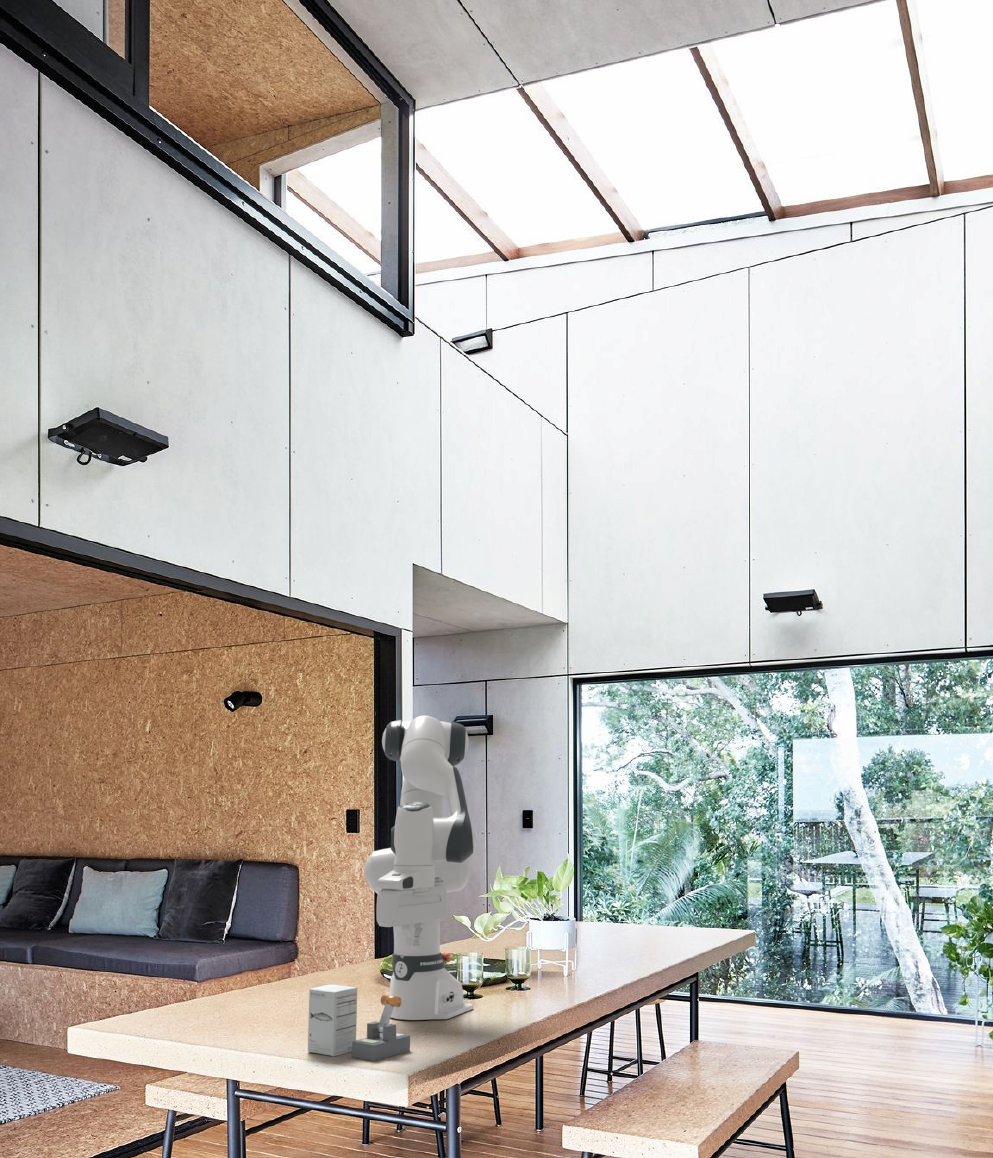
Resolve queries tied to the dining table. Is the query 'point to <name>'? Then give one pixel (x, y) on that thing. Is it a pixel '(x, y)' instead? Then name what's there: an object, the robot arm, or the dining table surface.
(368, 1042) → the breaker housing
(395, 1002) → the breaker lever
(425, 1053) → the dining table surface
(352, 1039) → the supplement box
